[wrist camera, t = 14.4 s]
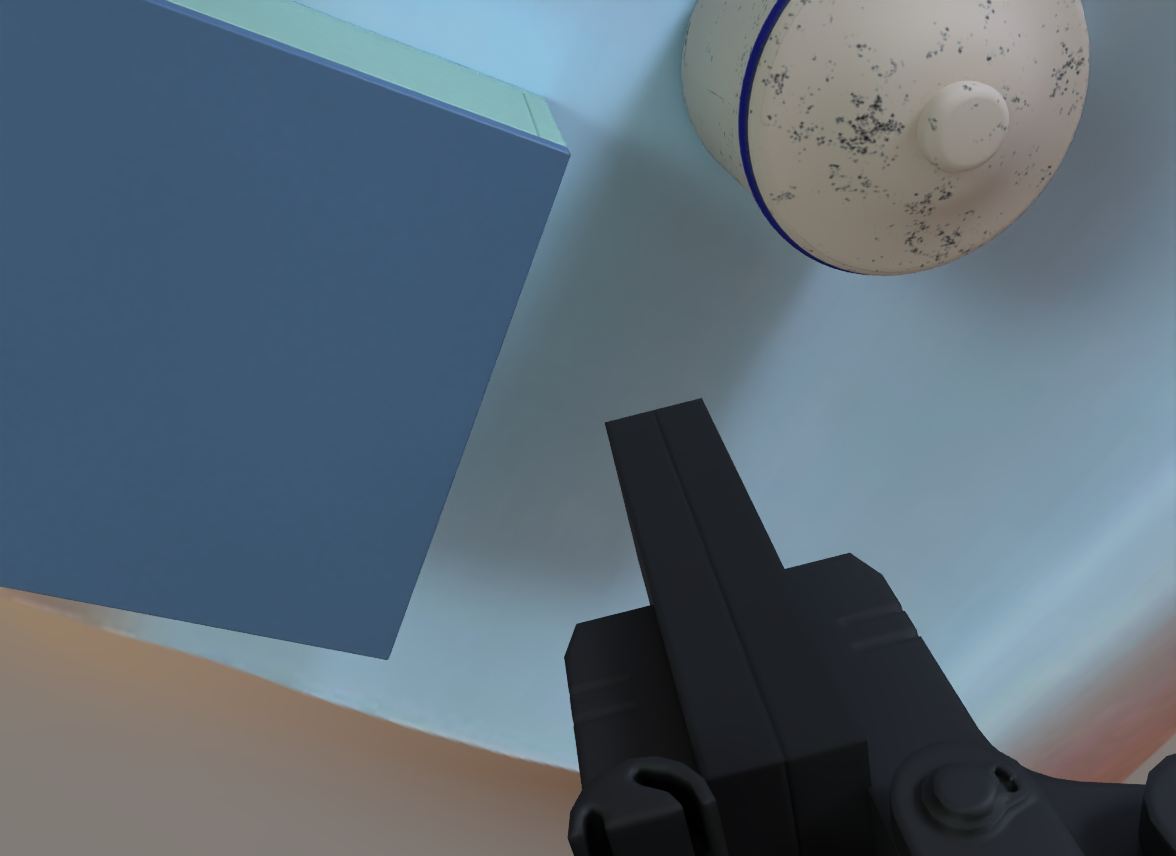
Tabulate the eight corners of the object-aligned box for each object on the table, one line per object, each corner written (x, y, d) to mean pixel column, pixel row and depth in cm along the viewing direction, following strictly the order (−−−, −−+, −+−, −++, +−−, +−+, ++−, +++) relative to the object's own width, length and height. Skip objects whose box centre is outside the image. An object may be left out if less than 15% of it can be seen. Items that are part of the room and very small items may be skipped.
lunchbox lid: (389, 644, 31) (388, 661, 31) (-179, 533, 27) (-195, 550, 26) (568, 146, 24) (571, 153, 24) (-161, -120, 20) (-183, -122, 19)
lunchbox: (406, 500, 38) (396, 619, 31) (-52, 390, 33) (-171, 504, 27) (544, 96, 31) (568, 146, 24) (-11, -114, 26) (-160, -121, 20)
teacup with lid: (808, 242, 34) (956, 381, 24) (616, 92, 31) (695, 181, 21) (1055, -51, 30) (1354, -31, 20) (866, -261, 27) (1112, -362, 17)
